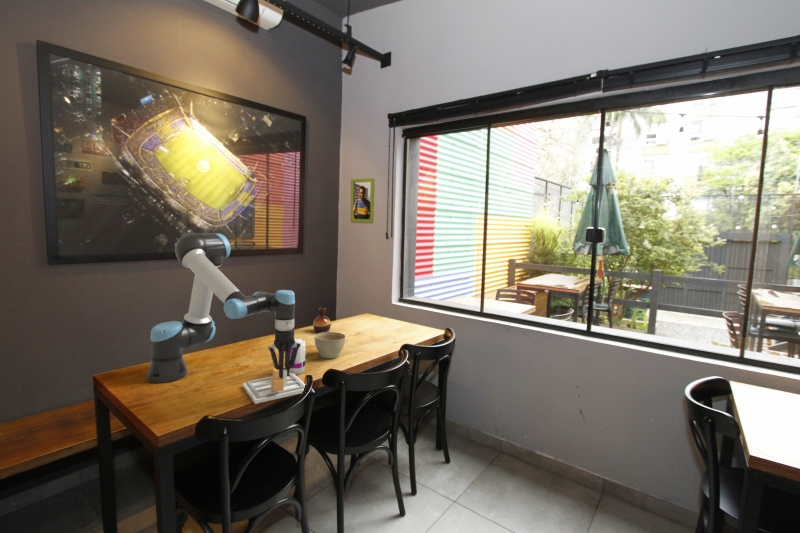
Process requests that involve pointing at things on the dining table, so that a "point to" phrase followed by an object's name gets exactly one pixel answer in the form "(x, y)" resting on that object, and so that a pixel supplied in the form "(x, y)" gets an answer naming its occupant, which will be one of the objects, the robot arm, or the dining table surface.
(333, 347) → the planter bowl
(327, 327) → the vase
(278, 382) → the tab
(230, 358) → the dining table surface
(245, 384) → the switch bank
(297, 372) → the supplement can
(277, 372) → the orange block
